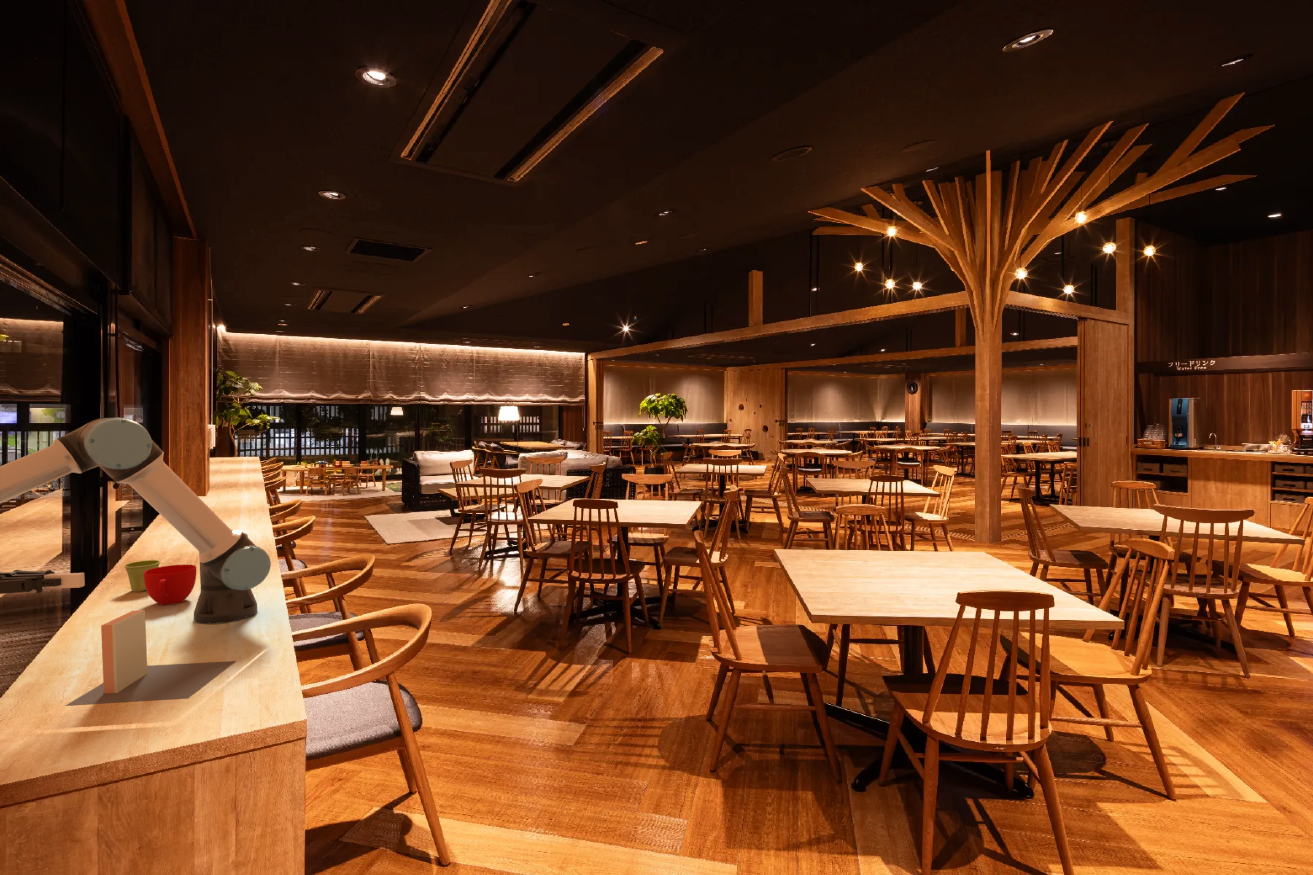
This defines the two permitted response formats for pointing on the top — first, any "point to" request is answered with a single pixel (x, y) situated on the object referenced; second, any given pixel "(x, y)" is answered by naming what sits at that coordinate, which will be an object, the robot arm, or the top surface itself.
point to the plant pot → (139, 573)
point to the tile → (124, 651)
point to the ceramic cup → (170, 583)
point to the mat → (159, 684)
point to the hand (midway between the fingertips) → (81, 580)
